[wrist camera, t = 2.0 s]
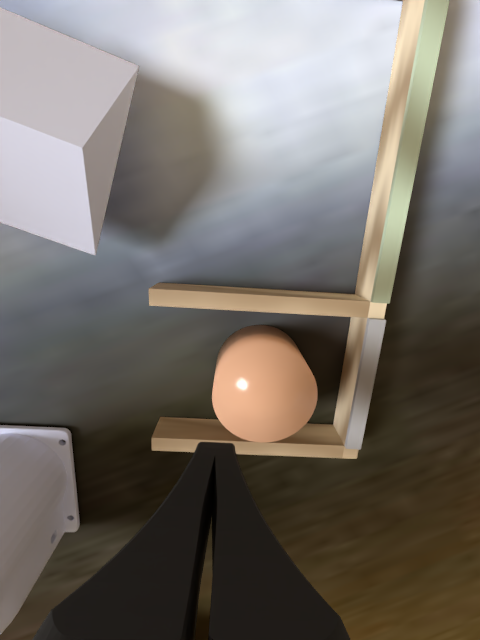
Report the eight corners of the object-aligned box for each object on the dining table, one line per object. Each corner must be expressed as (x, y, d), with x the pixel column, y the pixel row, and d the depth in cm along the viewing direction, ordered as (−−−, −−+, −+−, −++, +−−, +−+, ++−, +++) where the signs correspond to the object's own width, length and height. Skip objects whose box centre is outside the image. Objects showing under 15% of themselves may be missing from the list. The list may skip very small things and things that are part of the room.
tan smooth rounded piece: (295, 404, 22) (310, 444, 18) (215, 400, 22) (210, 440, 18) (305, 327, 21) (324, 350, 16) (218, 322, 20) (214, 344, 16)
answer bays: (344, 436, 23) (358, 462, 20) (160, 428, 22) (150, 453, 20) (425, -22, 16) (464, -74, 13) (156, -48, 15) (140, -107, 13)
